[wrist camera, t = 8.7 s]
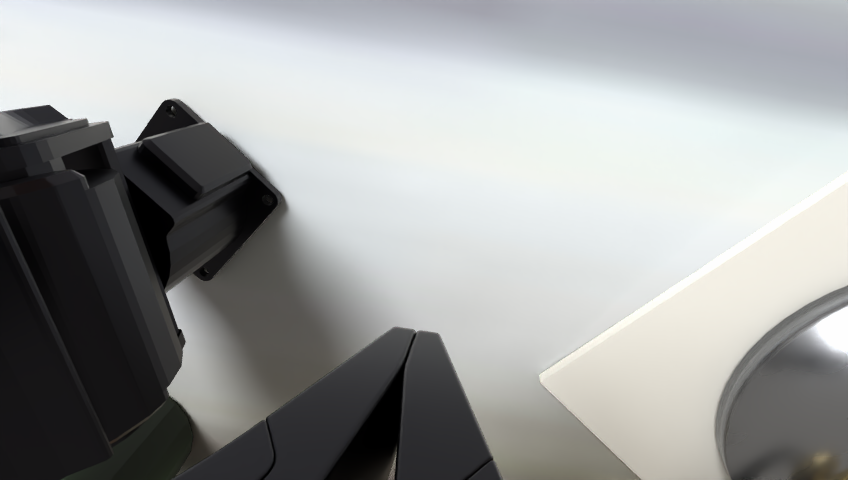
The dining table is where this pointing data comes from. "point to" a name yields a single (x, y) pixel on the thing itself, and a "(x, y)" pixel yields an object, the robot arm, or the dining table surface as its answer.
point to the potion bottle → (147, 450)
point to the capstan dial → (791, 399)
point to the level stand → (701, 341)
